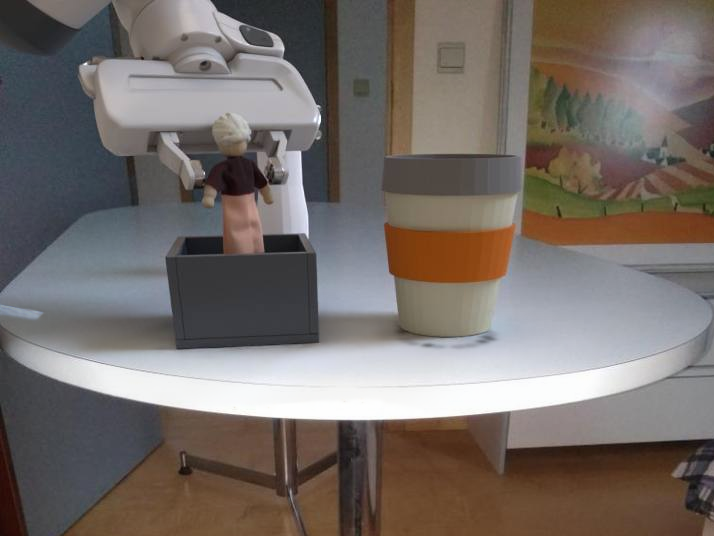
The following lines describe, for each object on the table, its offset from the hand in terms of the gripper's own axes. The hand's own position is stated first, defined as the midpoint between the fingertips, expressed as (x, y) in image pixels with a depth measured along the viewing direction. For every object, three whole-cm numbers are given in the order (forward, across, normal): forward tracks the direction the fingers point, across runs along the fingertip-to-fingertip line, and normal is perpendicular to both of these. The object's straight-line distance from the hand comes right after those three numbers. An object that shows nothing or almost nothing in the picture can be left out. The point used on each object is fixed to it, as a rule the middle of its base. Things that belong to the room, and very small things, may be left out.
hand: (240, 182), depth 63 cm
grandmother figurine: (+5, 0, +6) cm, 7 cm away
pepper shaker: (-8, +16, +27) cm, 33 cm away
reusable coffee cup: (+16, +16, +3) cm, 23 cm away
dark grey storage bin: (+9, 0, +10) cm, 13 cm away
